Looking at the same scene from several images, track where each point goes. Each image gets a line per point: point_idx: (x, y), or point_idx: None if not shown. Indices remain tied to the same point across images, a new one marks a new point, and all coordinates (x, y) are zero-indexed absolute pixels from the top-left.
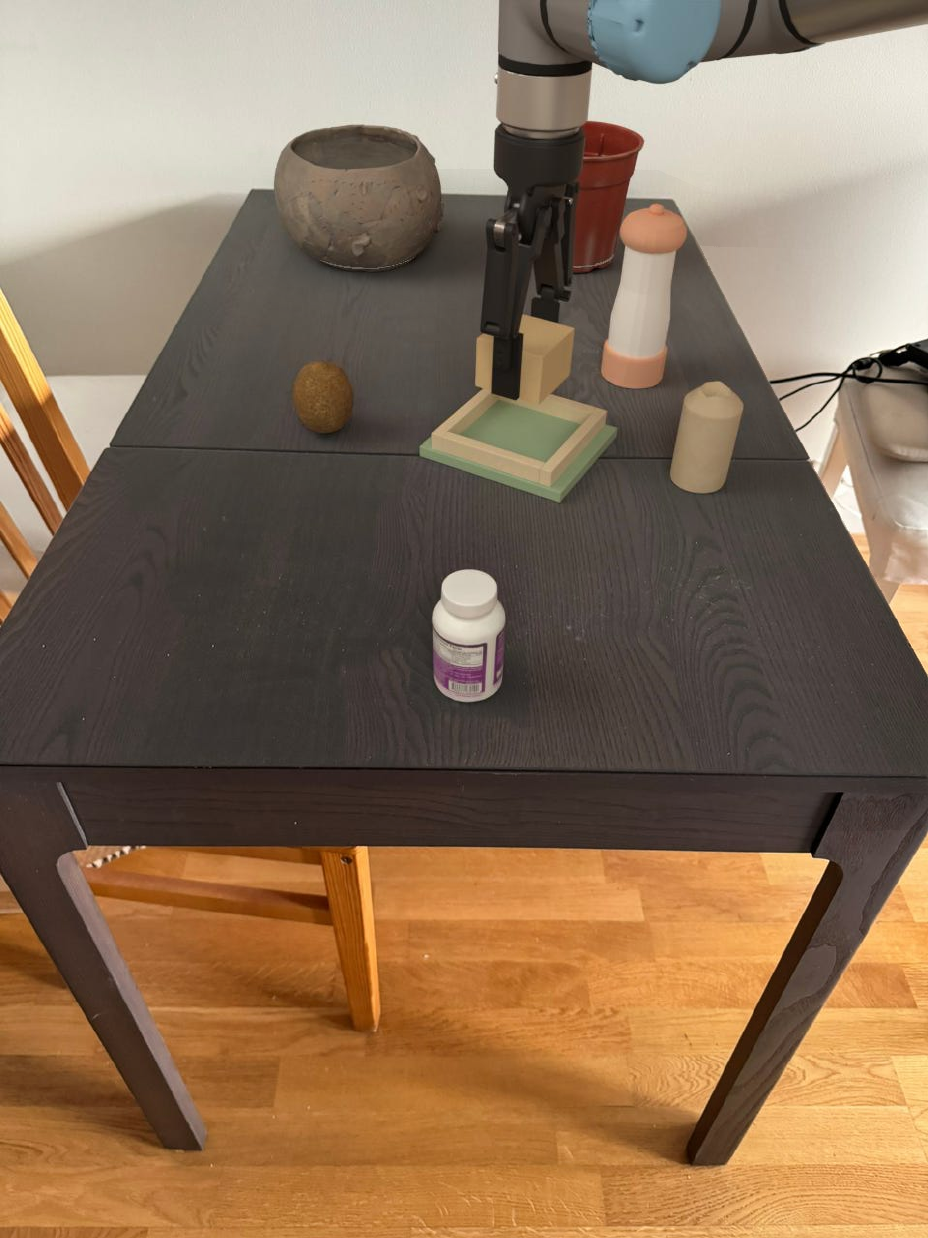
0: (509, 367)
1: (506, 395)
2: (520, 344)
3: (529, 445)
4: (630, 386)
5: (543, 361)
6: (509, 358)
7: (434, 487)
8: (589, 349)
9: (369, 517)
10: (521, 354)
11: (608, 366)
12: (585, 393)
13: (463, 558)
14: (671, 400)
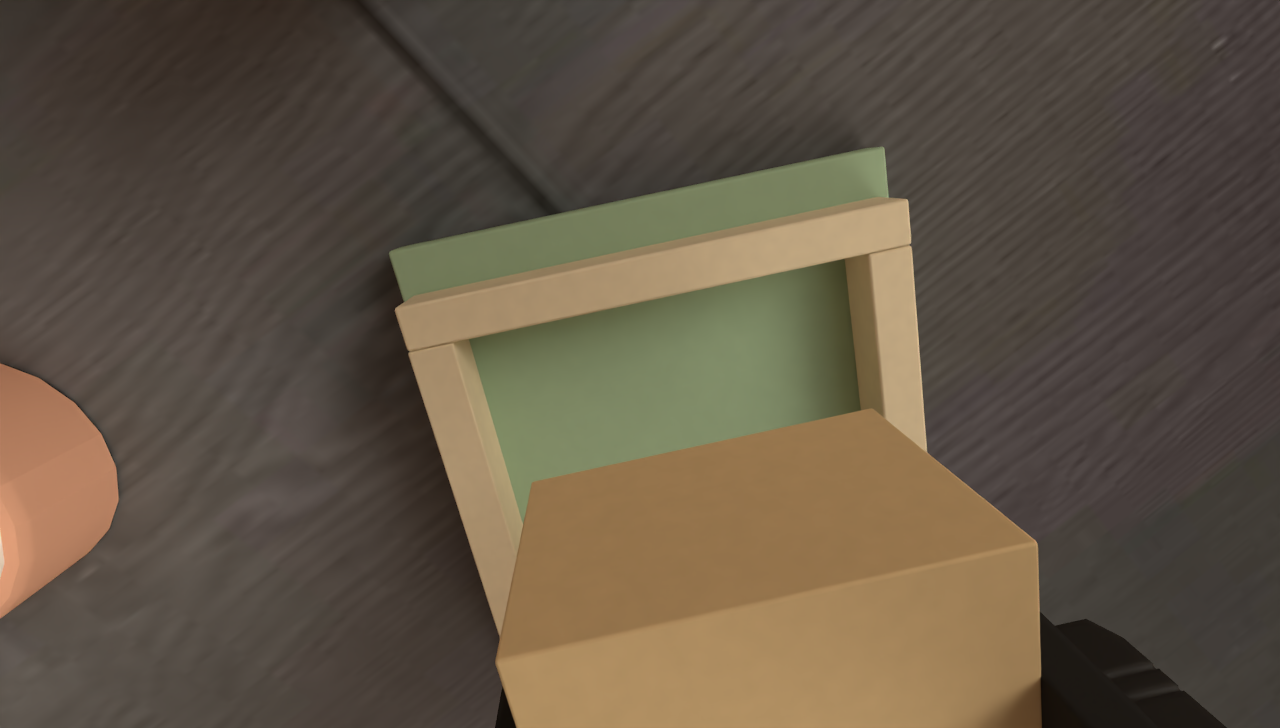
0: (1062, 630)
1: None
2: (1136, 720)
3: (712, 404)
4: (78, 414)
5: (998, 522)
6: (1115, 674)
7: (1008, 474)
8: (3, 668)
9: (1210, 497)
10: (1044, 658)
11: (75, 532)
12: (253, 499)
13: (1254, 193)
14: (5, 246)
